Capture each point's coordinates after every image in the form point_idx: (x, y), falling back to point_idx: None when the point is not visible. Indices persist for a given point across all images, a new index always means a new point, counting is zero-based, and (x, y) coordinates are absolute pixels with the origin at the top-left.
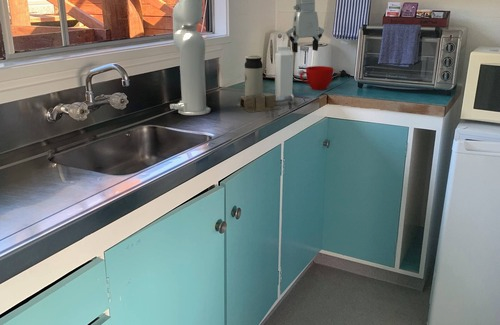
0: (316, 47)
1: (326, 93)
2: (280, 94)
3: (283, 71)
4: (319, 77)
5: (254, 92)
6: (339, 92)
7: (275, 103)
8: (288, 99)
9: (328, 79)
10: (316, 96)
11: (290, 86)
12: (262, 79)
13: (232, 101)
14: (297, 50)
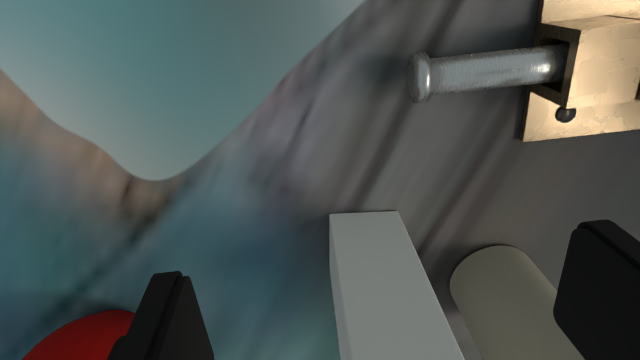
0: (168, 312)
1: (114, 237)
2: (401, 221)
3: (420, 314)
4: (110, 349)
5: (524, 262)
6: (31, 238)
7: (550, 23)
8: (451, 56)
9: (54, 337)
10: (195, 190)
11: (347, 247)
12: (496, 327)
13: (631, 220)
14: (597, 243)
